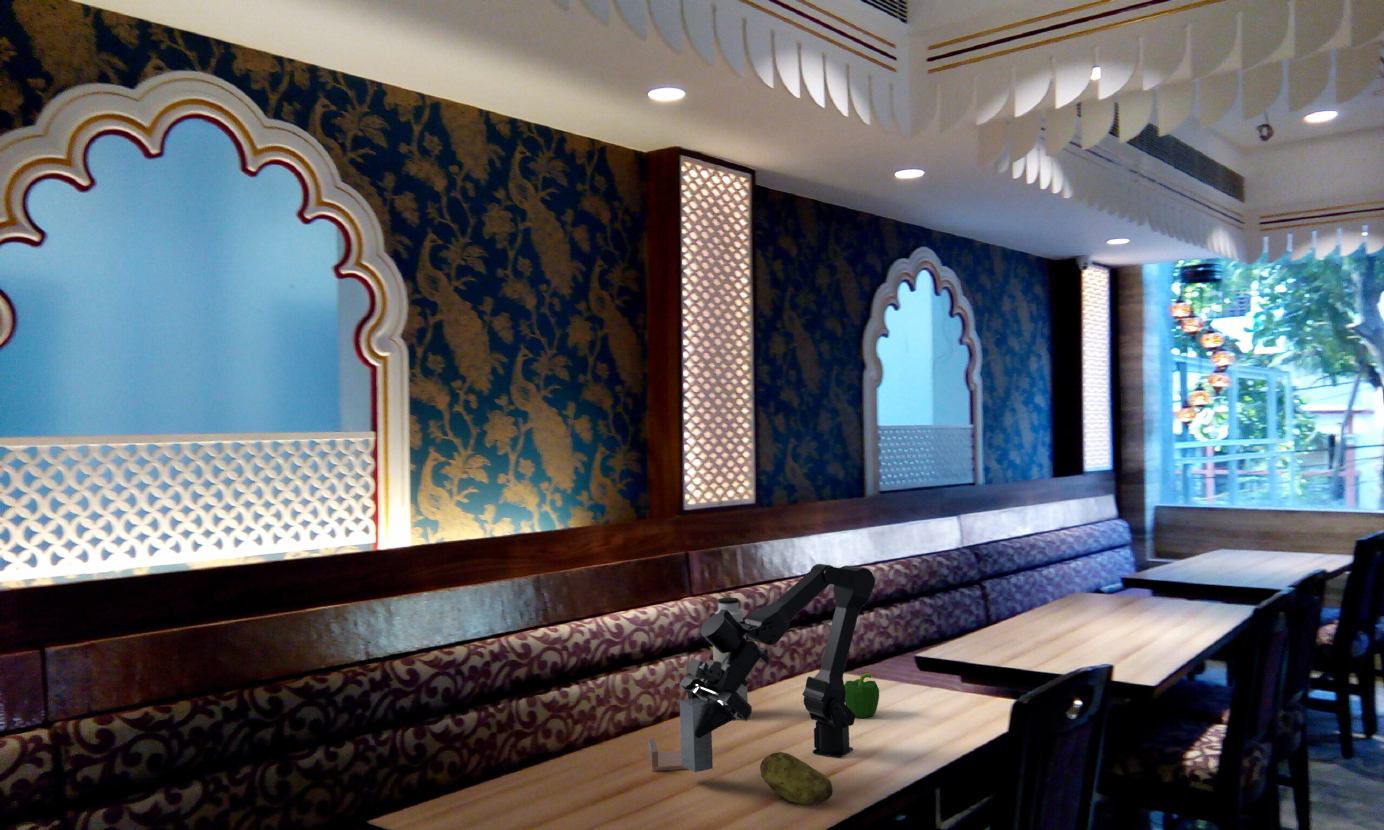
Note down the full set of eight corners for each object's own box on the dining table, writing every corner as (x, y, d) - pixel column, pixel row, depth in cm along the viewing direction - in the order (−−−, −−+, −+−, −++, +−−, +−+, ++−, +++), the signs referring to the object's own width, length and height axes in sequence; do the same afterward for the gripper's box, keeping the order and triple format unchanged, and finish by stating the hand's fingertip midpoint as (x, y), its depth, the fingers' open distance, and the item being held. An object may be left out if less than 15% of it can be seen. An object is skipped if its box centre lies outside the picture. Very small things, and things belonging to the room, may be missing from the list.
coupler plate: (695, 753, 214) (695, 734, 214) (702, 767, 204) (701, 748, 204) (648, 755, 213) (648, 737, 213) (652, 770, 203) (652, 751, 203)
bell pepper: (838, 717, 239) (836, 674, 239) (851, 709, 246) (850, 668, 246) (871, 722, 234) (870, 678, 235) (884, 713, 241) (883, 671, 242)
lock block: (699, 761, 199) (697, 697, 199) (712, 768, 194) (710, 702, 195) (681, 765, 197) (679, 700, 197) (694, 772, 192) (692, 706, 193)
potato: (810, 814, 177) (809, 768, 177) (753, 798, 186) (752, 754, 186) (838, 801, 183) (836, 756, 183) (781, 786, 192) (780, 743, 192)
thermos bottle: (722, 709, 248) (719, 595, 249) (752, 712, 245) (749, 596, 246) (709, 718, 241) (706, 599, 242) (740, 721, 238) (737, 601, 239)
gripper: (686, 635, 206) (640, 698, 200) (736, 650, 190) (687, 719, 184) (720, 668, 210) (676, 731, 204) (772, 685, 194) (725, 754, 188)
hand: (689, 733), depth 195 cm, fingers closed on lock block, 5 cm apart
